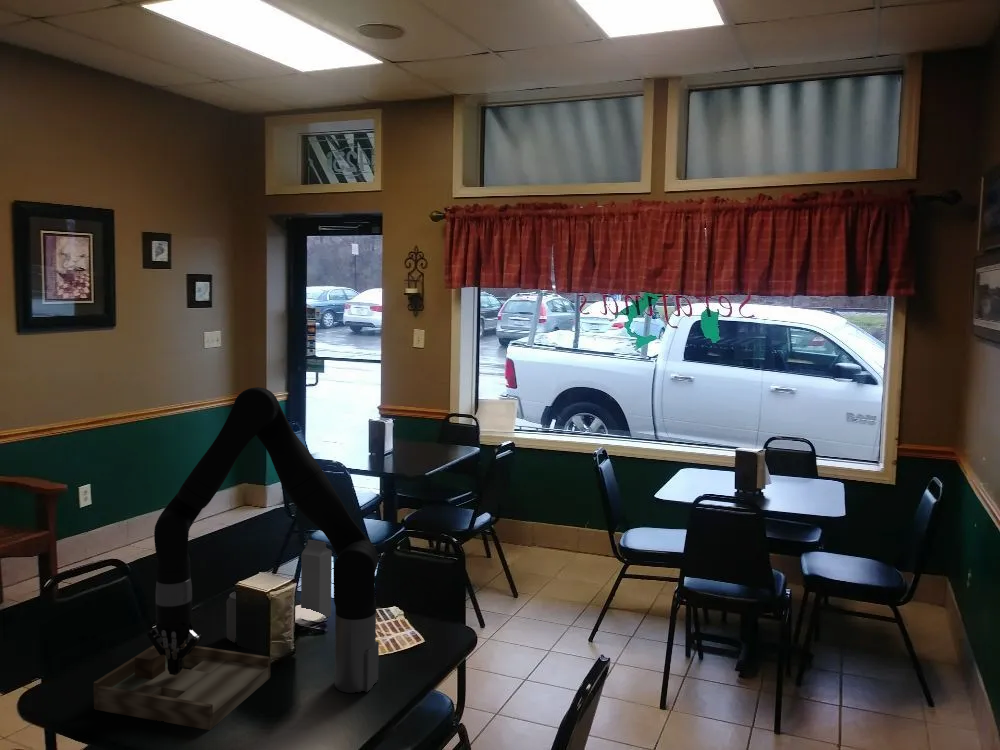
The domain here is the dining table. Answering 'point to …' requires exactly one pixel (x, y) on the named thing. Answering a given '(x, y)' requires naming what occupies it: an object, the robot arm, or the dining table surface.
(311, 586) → the milk
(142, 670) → the block
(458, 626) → the dining table surface
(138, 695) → the compartment tray
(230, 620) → the can
